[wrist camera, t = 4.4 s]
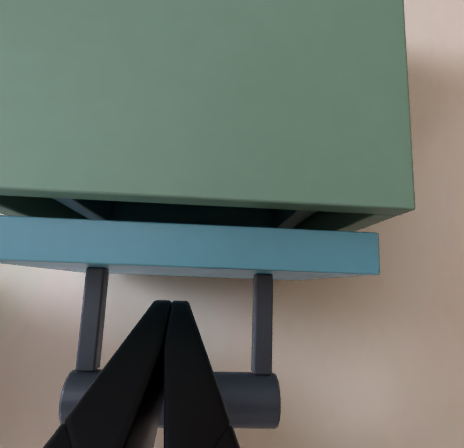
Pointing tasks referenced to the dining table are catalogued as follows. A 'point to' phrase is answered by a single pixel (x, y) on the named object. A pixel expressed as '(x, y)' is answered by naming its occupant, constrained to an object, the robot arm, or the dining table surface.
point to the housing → (207, 106)
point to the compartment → (186, 273)
